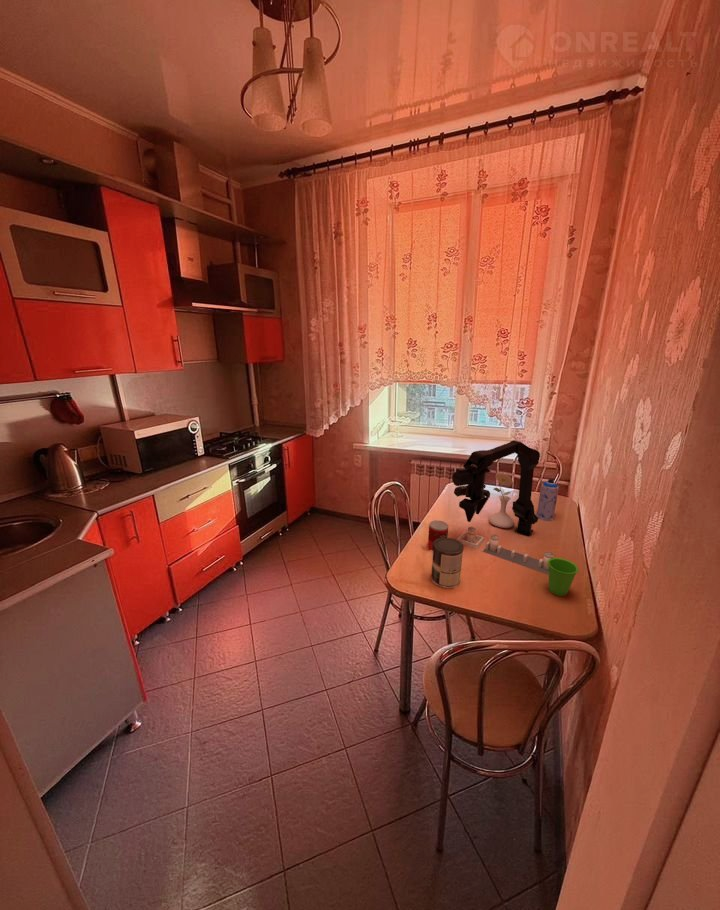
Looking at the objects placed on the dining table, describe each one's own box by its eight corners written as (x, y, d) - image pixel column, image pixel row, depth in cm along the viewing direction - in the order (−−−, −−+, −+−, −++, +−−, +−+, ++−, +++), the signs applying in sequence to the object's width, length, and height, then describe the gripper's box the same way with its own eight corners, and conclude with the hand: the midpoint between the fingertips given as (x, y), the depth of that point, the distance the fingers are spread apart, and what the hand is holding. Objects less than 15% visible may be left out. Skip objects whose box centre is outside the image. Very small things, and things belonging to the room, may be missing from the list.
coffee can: (425, 580, 128) (427, 545, 124) (439, 567, 135) (441, 534, 131) (452, 592, 122) (455, 556, 117) (465, 578, 129) (468, 543, 125)
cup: (562, 584, 126) (568, 557, 123) (578, 602, 117) (584, 573, 114) (537, 585, 126) (542, 557, 123) (551, 602, 117) (557, 573, 114)
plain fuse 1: (490, 547, 148) (492, 534, 146) (498, 549, 146) (500, 536, 144) (488, 550, 145) (489, 537, 144) (495, 552, 144) (497, 539, 142)
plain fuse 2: (543, 564, 136) (545, 550, 134) (552, 567, 134) (554, 553, 132) (541, 568, 134) (543, 554, 132) (550, 571, 132) (553, 557, 130)
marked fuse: (468, 538, 155) (469, 526, 153) (475, 541, 153) (476, 528, 151) (465, 541, 152) (466, 528, 151) (472, 544, 150) (474, 531, 149)
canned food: (432, 555, 144) (434, 530, 141) (424, 544, 151) (425, 521, 148) (450, 552, 146) (452, 528, 143) (440, 542, 153) (442, 519, 150)
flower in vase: (519, 527, 166) (527, 477, 159) (500, 532, 162) (507, 480, 155) (499, 516, 178) (505, 468, 171) (480, 519, 174) (486, 471, 167)
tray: (464, 535, 159) (465, 531, 158) (483, 542, 153) (484, 537, 153) (456, 543, 152) (456, 538, 151) (476, 550, 147) (476, 545, 146)
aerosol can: (552, 522, 171) (559, 483, 166) (534, 518, 175) (541, 480, 170) (554, 516, 178) (561, 478, 172) (537, 512, 182) (543, 475, 176)
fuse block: (489, 545, 151) (489, 538, 150) (557, 568, 135) (559, 560, 134) (482, 553, 145) (482, 546, 144) (552, 578, 129) (554, 570, 128)
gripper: (467, 472, 157) (463, 505, 161) (448, 484, 143) (445, 520, 147) (492, 478, 150) (488, 512, 154) (475, 491, 136) (471, 528, 140)
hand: (473, 517), depth 149 cm, fingers open, 9 cm apart
